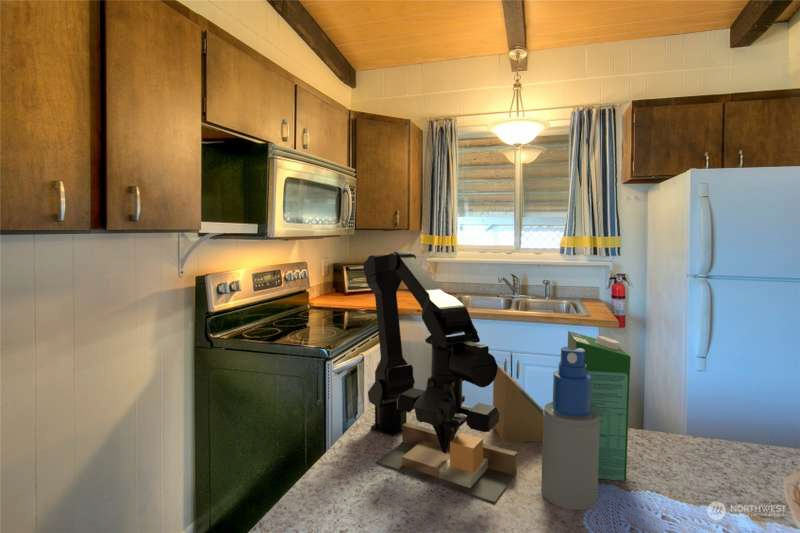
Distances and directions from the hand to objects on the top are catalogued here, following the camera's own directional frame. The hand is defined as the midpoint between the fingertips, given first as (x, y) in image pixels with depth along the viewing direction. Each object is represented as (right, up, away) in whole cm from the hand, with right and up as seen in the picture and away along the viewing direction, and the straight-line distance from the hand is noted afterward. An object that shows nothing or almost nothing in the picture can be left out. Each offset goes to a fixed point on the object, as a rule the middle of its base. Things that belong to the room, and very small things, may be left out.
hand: (445, 452), depth 83 cm
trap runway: (0, -3, 0) cm, 3 cm away
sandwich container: (+21, -2, +16) cm, 26 cm away
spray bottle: (+20, -4, -8) cm, 22 cm away
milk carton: (+28, -3, +1) cm, 28 cm away
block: (+4, -1, -2) cm, 4 cm away
